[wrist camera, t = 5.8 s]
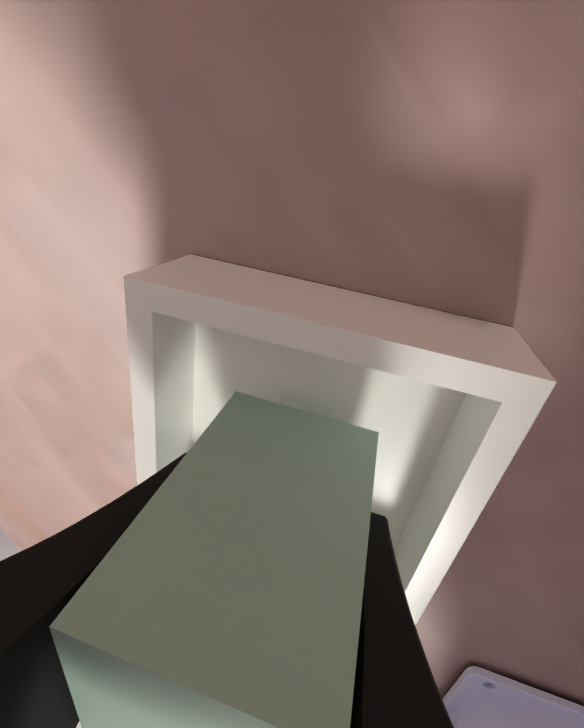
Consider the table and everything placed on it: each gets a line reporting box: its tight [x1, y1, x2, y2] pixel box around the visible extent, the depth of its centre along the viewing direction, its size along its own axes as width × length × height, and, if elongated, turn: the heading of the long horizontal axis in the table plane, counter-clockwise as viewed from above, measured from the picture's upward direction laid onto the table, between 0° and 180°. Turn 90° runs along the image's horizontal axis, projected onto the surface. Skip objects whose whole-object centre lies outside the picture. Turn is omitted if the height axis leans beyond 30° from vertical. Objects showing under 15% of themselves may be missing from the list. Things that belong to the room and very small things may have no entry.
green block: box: [49, 391, 379, 728], centre depth 9 cm, size 4×4×7 cm
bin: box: [124, 254, 557, 626], centre depth 13 cm, size 11×11×4 cm
